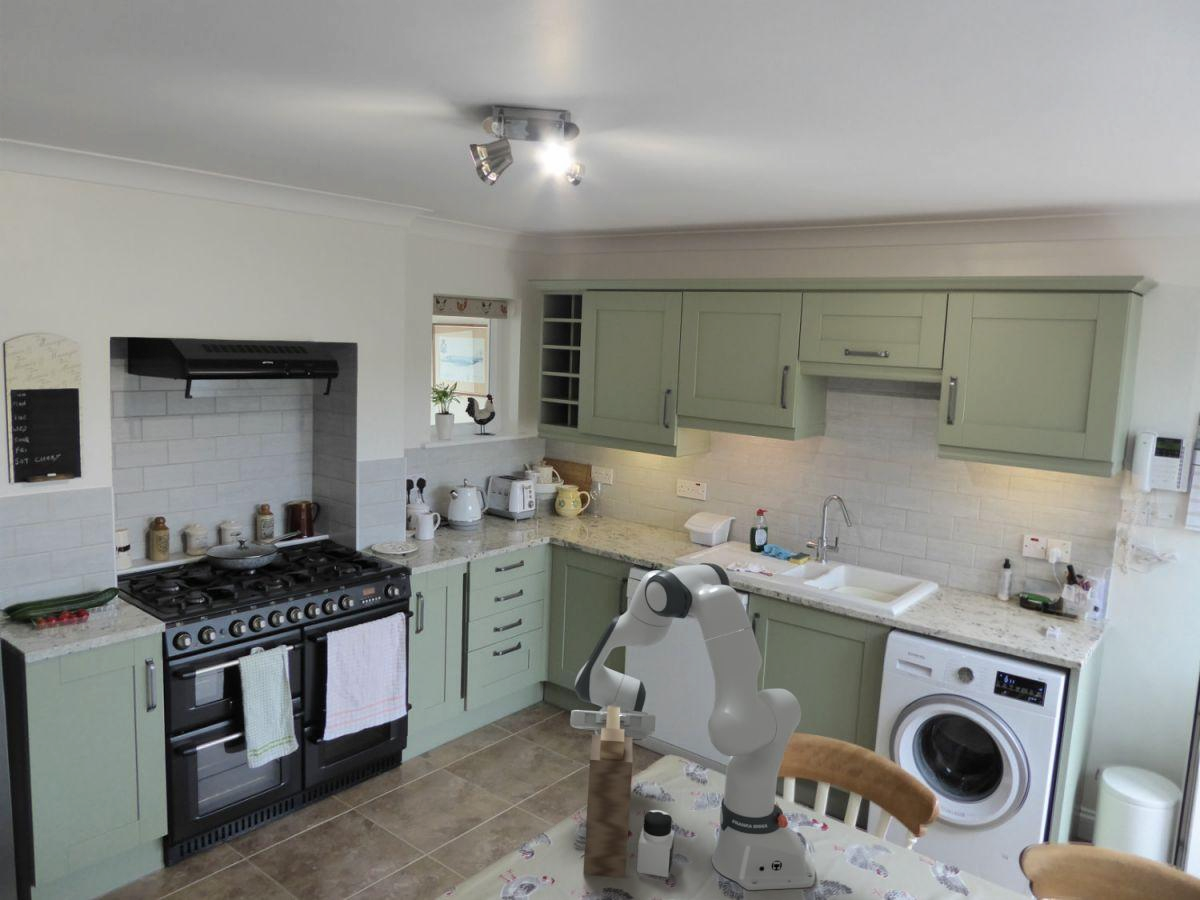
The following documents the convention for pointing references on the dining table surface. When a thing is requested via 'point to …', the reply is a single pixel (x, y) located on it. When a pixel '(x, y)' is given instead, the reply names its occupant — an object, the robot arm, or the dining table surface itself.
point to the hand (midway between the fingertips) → (613, 717)
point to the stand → (608, 812)
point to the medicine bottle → (656, 844)
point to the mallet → (612, 736)
